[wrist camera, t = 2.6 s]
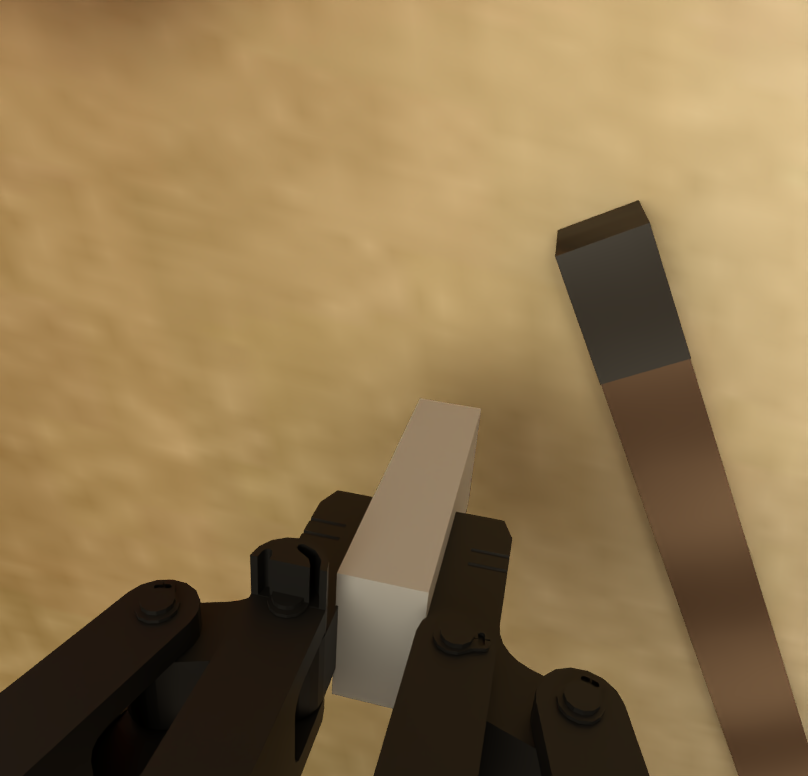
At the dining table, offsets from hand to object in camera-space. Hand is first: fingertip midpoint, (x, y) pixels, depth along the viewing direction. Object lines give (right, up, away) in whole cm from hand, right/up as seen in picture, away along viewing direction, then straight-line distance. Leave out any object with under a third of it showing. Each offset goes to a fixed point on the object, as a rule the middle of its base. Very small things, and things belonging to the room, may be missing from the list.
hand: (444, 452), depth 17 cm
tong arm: (+10, -4, +8) cm, 13 cm away
